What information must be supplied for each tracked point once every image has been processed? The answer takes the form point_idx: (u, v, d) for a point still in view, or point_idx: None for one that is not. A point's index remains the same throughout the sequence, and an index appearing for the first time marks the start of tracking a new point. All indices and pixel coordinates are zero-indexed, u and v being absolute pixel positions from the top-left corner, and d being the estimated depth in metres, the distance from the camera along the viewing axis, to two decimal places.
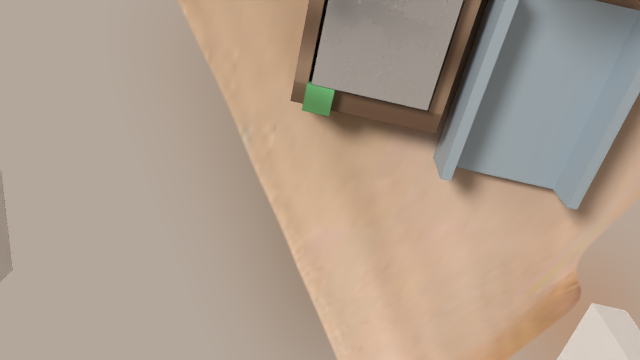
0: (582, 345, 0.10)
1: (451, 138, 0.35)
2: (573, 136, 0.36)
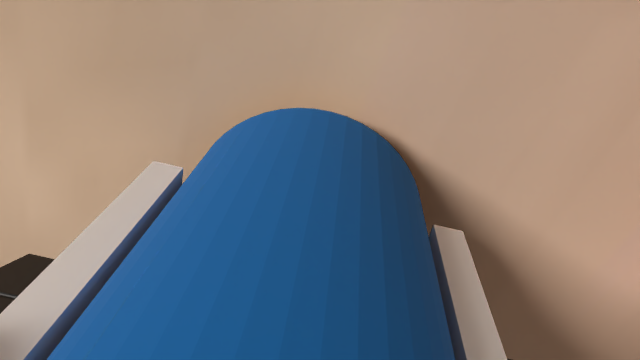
0: None
1: None
2: None
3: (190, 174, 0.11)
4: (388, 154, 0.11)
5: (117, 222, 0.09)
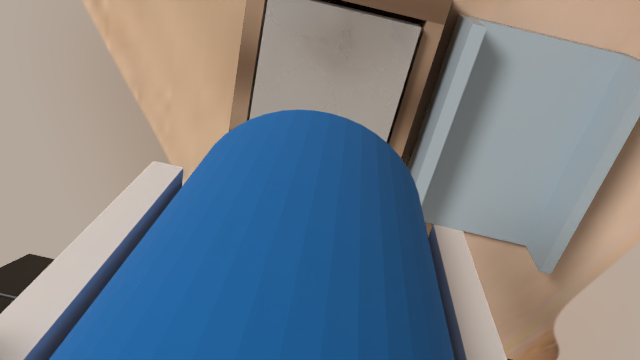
0: None
1: None
2: (548, 190, 0.32)
3: (190, 176, 0.11)
4: (388, 156, 0.11)
5: (117, 222, 0.09)
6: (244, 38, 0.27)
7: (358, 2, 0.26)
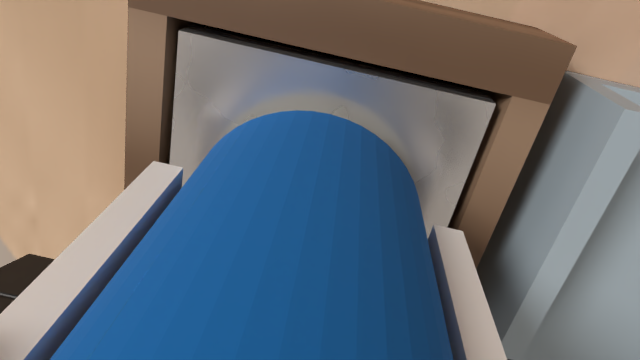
0: None
1: None
2: None
3: (190, 176, 0.11)
4: (387, 156, 0.11)
5: (117, 222, 0.09)
6: (131, 127, 0.13)
7: (364, 58, 0.12)
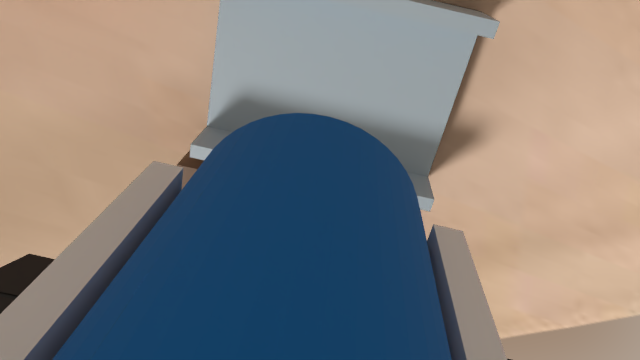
0: None
1: None
2: (394, 15, 0.25)
3: (190, 179, 0.11)
4: (387, 159, 0.11)
5: (117, 222, 0.09)
6: None
7: None
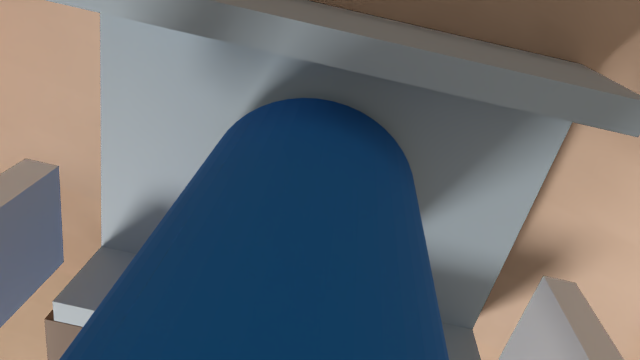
0: (535, 315, 0.11)
1: None
2: None
3: (208, 157, 0.12)
4: (384, 139, 0.12)
5: None
6: None
7: None
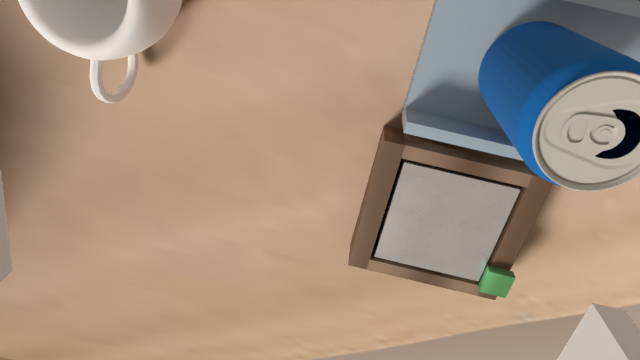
0: (583, 344, 0.10)
1: None
2: (591, 11, 0.29)
3: (505, 43, 0.28)
4: None
5: None
6: (406, 277, 0.37)
7: (385, 204, 0.35)
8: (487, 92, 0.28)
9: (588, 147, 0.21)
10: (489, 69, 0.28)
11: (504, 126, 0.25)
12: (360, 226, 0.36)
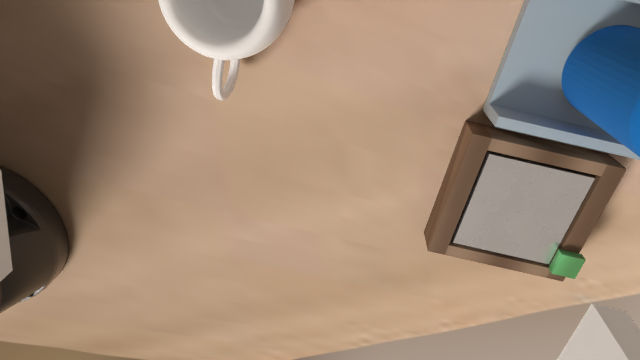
0: (583, 345, 0.10)
1: None
2: None
3: (595, 44, 0.31)
4: None
5: None
6: (482, 261, 0.40)
7: (468, 193, 0.38)
8: (578, 88, 0.31)
9: None
10: (580, 67, 0.31)
11: (606, 118, 0.28)
12: (442, 214, 0.39)
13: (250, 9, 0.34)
